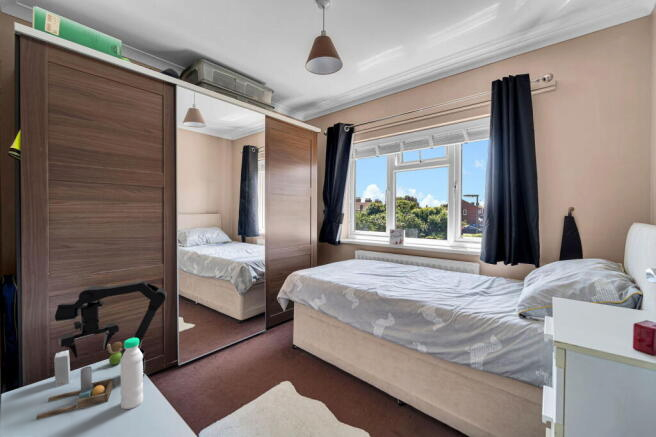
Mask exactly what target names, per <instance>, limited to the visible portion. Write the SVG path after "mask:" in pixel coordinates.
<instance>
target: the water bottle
mask: <svg viewBox="0 0 656 437" xmlns="http://www.w3.org/2000/svg"><path fill="white" fill-rule="evenodd" d="M138 346H139V339H138V338H133V337H130V338H128V339H126V340H124V342H123V348H125V349H126V350H125V352H124V354H123V356H122V358H121V361H120V363H119V364H120V387H121V388H120V396H121V397H120V408H121V409H124V410H129V409H133V408H136V407H138V406H139V405H140V404H141V403H142V402H143V401H144V391H143V390H144V383H143V380H144V376H143V361H142V359H143V358H144V357H143V354H142V353H141V351H140V349H139V348H138Z"/></svg>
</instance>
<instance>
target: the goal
mask: <svg viewBox="0 0 656 437" xmlns="http://www.w3.org/2000/svg"><path fill="white" fill-rule="evenodd" d="M92 384H93V389H94V388H95V387H96V386H98V385H102V386H104V389H105V391H104V392H103V394H99V395H95V396H91V397H87V398H83V399H79V398H78V399H77V400H76V404H74V405H71V406H70V405H69V406H66V407H61V408H58V409H54V410H53V409H52V410H50V411H46V412H42V413H41V412H40V413H38V414H36V417H35V418H36V419H35V420H40V419H43V418H44V419H45V418H48V417H52V416H55V415H60V414H63V413H68V412H71V411H76V410H79V409H84V408H87V407H88V408H89V407H91V406H95V405H99V404H103V403H107V402H108V401H109V399H110V396H111V394H112V391H113V387H114V385H115V384H114V378H109V379H105V380H99V381H94V382H92ZM80 392H81V389H78V390H74V391H70V392H69V391H68V392H65V393H62V394H61V393H60V394H57V395H51V396H49V397H48V398H47V402H53V401H57V400H62V399H65V398H70V397H73V396H79V394H80Z"/></svg>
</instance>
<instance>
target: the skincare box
mask: <svg viewBox="0 0 656 437" xmlns="http://www.w3.org/2000/svg"><path fill="white" fill-rule="evenodd" d="M53 360H54V381H55V387H59V386H63V385H66V384H69V383H70V380H71V367H70V366H71V365H70V364H71V363H70V361H71V360H70V349H68V350H63V351H59V352H56V353H55V355H54V358H53Z"/></svg>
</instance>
